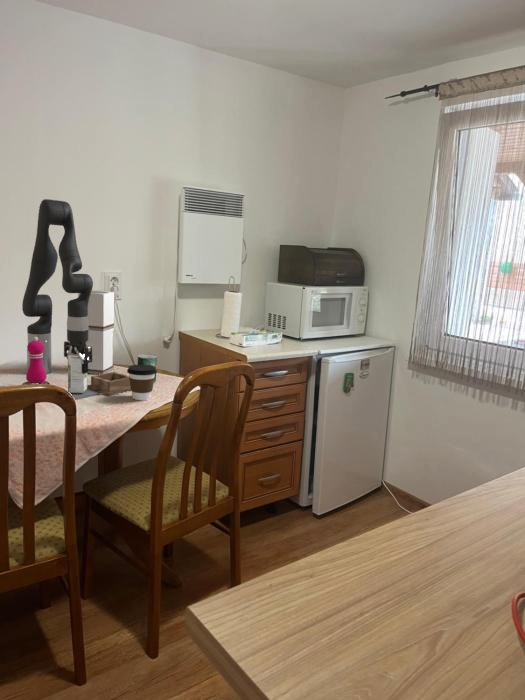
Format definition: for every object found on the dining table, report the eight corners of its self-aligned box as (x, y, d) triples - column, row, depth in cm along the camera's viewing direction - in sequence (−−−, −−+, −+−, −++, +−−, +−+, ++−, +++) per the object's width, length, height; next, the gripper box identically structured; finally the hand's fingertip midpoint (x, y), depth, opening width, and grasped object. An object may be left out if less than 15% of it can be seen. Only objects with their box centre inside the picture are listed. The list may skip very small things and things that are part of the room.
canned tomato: (133, 381, 223) (133, 355, 221) (145, 377, 230) (146, 353, 228) (147, 384, 220) (148, 358, 217) (160, 381, 226) (160, 355, 224)
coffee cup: (124, 394, 204) (125, 364, 201) (153, 393, 208) (154, 363, 205) (128, 403, 194) (129, 371, 191) (158, 401, 198) (159, 370, 196)
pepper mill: (50, 386, 209) (49, 336, 205) (40, 391, 202) (39, 339, 198) (32, 384, 209) (31, 334, 205) (22, 389, 202) (21, 337, 198)
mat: (56, 393, 200) (56, 392, 200) (81, 388, 209) (81, 386, 209) (74, 400, 194) (74, 398, 194) (99, 394, 202) (99, 392, 202)
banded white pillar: (113, 369, 240) (114, 292, 233) (103, 375, 230) (103, 294, 223) (89, 367, 242) (89, 290, 235) (78, 372, 232) (78, 292, 225)
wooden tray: (86, 388, 209) (86, 376, 208) (114, 382, 220) (115, 370, 219) (109, 396, 201) (109, 383, 200) (137, 389, 212) (138, 377, 211)
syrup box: (72, 388, 204) (71, 351, 201) (87, 389, 204) (87, 352, 201) (67, 392, 198) (67, 354, 195) (84, 393, 199) (83, 355, 196)
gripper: (57, 326, 197) (57, 369, 200) (81, 332, 189) (81, 376, 192) (74, 324, 203) (74, 366, 207) (98, 330, 195) (98, 373, 198)
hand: (77, 371), depth 199 cm, fingers closed on syrup box, 7 cm apart
